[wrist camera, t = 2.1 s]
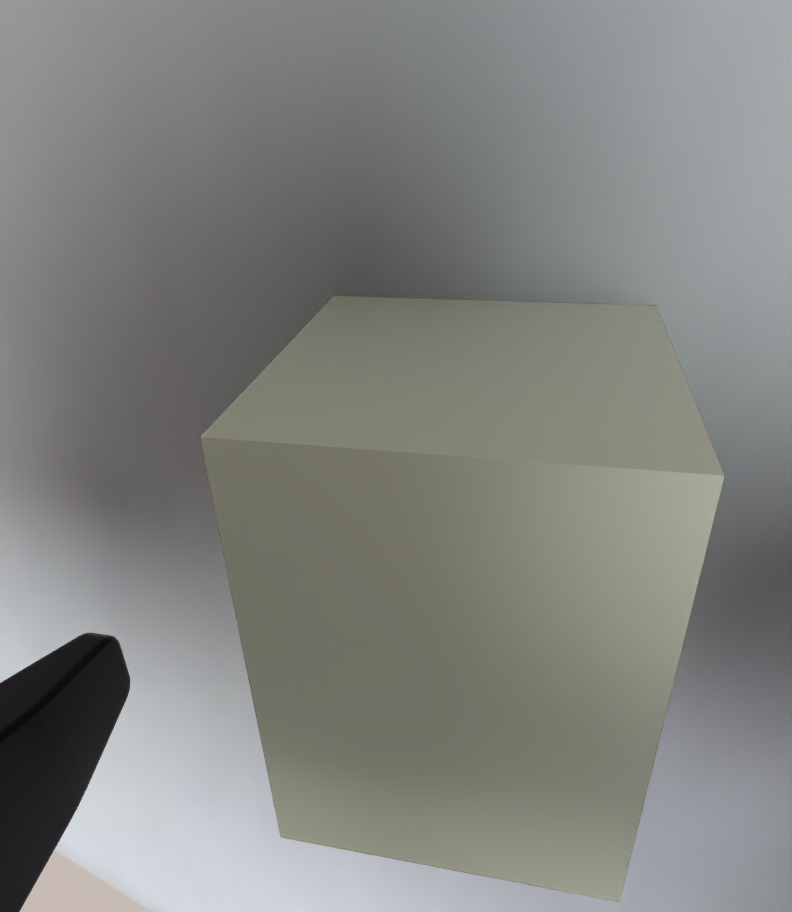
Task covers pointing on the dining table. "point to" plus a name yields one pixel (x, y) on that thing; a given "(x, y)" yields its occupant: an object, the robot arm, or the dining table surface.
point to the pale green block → (466, 577)
